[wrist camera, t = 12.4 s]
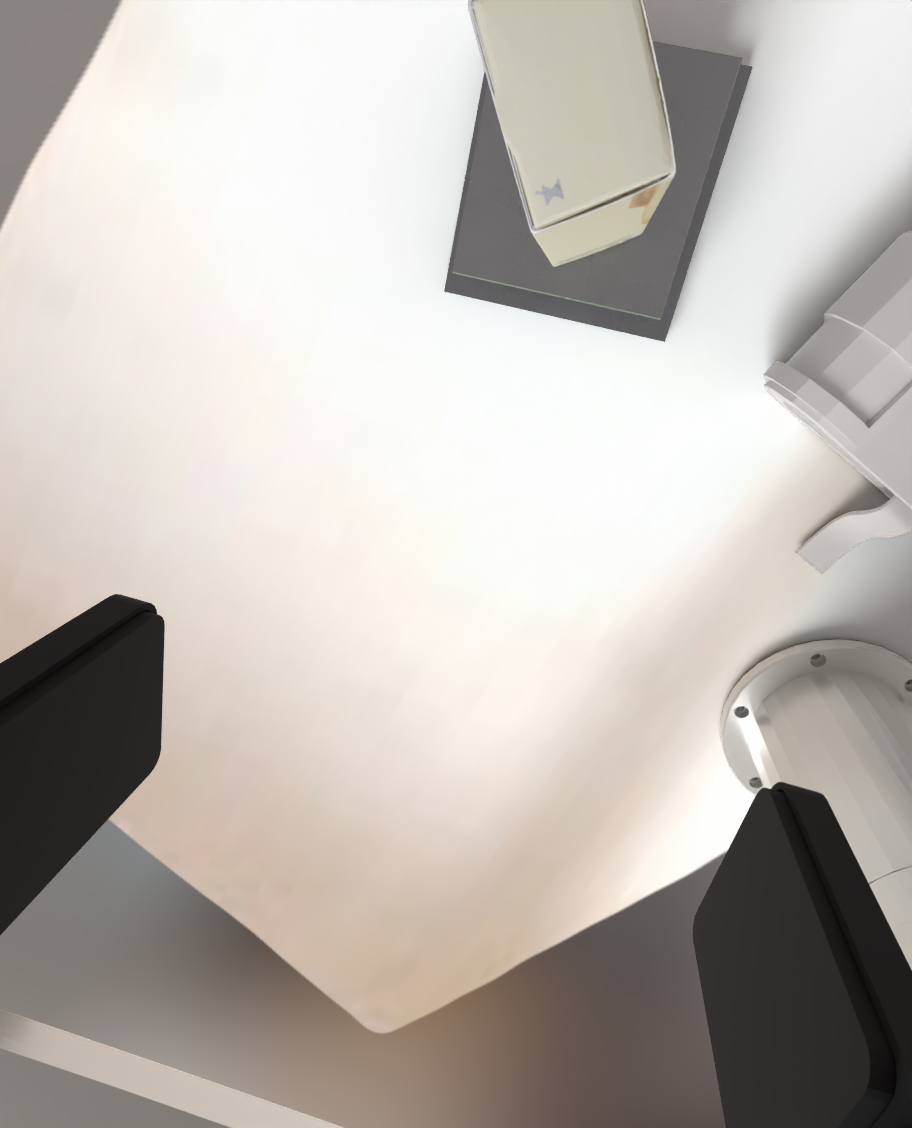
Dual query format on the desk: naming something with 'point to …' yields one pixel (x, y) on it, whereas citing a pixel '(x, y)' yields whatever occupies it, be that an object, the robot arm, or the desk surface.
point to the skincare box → (578, 117)
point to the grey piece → (627, 270)
